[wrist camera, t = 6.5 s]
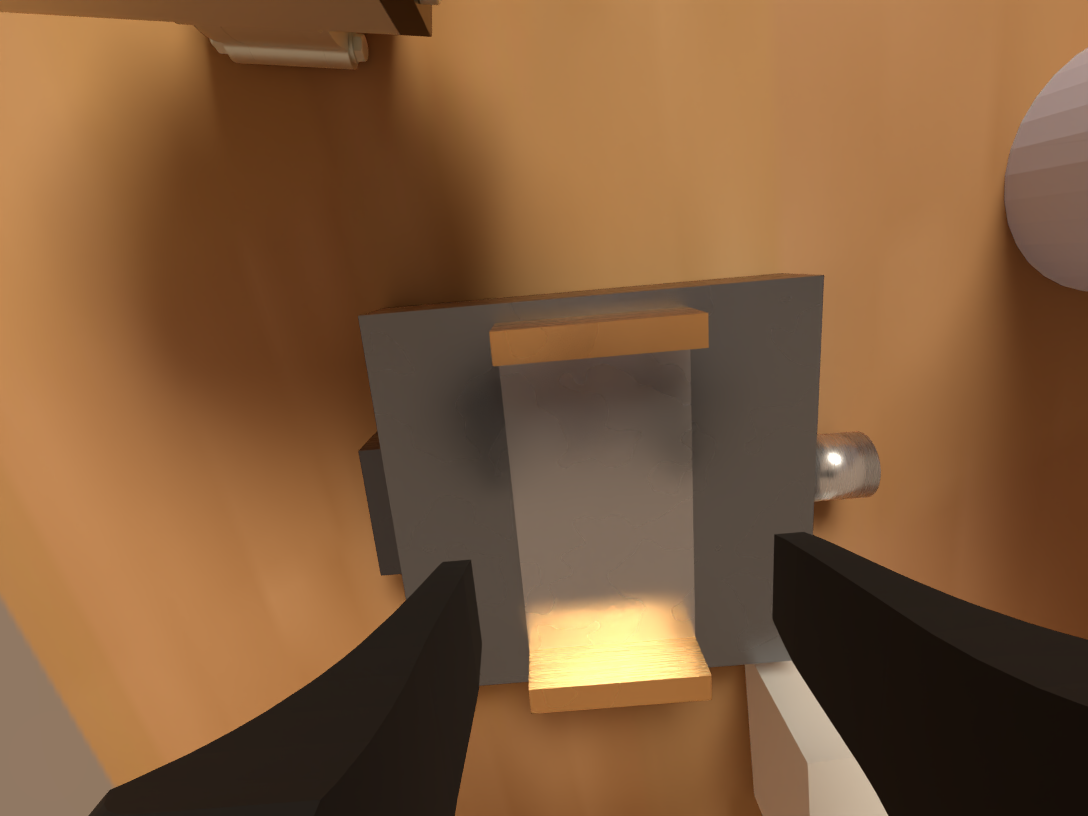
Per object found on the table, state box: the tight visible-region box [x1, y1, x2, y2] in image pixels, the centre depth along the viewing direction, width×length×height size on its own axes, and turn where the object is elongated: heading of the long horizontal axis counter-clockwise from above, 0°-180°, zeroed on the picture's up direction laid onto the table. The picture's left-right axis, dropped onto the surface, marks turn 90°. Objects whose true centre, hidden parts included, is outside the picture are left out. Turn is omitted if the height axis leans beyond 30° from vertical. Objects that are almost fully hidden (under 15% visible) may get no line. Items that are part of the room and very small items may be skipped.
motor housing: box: [358, 273, 881, 714], centre depth 16 cm, size 15×12×4 cm
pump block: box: [745, 661, 888, 816], centre depth 18 cm, size 4×7×5 cm, turn 9°
